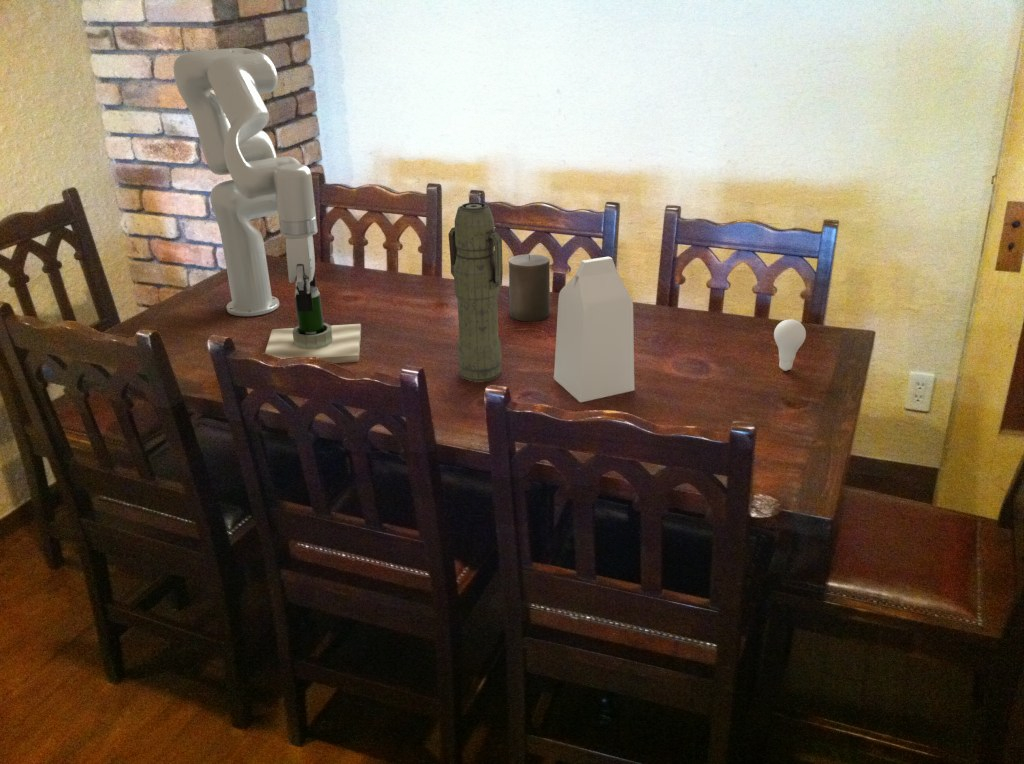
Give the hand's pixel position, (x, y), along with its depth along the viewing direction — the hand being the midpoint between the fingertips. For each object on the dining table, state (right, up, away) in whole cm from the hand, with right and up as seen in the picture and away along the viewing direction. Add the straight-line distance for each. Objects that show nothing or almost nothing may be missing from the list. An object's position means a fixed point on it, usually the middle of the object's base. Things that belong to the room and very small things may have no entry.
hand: (307, 302), depth 187 cm
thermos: (+38, -16, -9) cm, 42 cm away
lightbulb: (+100, -15, -10) cm, 102 cm away
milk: (+61, -18, -15) cm, 65 cm away
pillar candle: (+49, -1, +20) cm, 53 cm away
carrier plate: (+1, -10, +4) cm, 11 cm away
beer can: (0, -8, +4) cm, 9 cm away
